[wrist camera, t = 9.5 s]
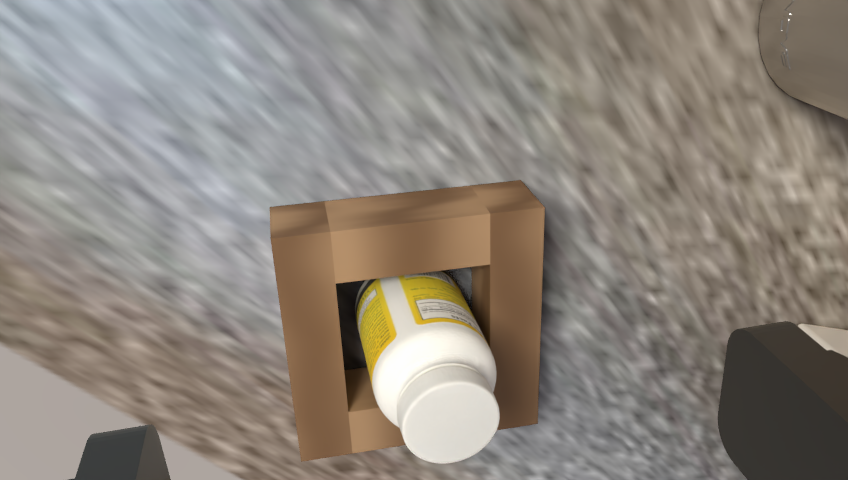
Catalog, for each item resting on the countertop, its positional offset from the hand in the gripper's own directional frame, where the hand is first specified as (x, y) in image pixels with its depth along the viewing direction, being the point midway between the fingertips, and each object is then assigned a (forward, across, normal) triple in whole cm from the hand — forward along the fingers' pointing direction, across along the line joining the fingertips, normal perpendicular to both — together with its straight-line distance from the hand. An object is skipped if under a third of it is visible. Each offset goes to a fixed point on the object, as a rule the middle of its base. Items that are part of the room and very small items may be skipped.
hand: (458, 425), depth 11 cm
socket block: (+25, -2, +13) cm, 28 cm away
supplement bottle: (+25, -3, +12) cm, 28 cm away
